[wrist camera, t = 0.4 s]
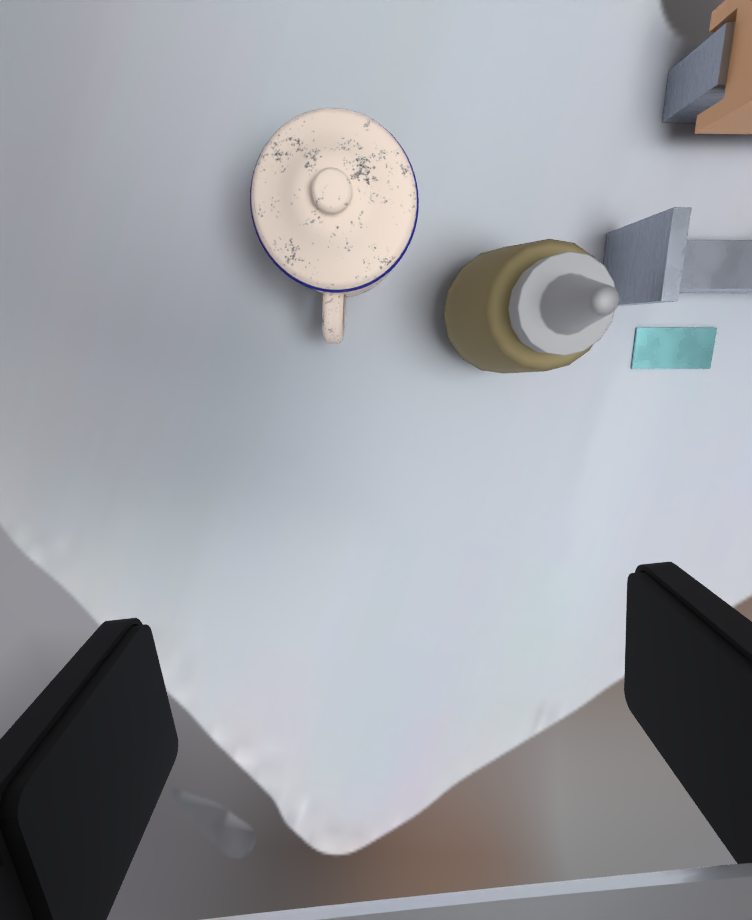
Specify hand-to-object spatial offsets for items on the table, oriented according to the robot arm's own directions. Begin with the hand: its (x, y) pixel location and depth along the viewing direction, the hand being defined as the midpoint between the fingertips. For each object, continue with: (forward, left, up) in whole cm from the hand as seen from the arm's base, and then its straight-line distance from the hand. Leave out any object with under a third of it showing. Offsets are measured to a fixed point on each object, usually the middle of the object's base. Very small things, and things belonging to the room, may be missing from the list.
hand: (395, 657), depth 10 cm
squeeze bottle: (-7, +9, -30) cm, 32 cm away
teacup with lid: (-11, -2, -30) cm, 32 cm away
